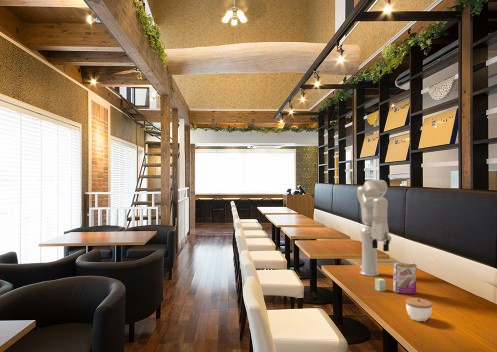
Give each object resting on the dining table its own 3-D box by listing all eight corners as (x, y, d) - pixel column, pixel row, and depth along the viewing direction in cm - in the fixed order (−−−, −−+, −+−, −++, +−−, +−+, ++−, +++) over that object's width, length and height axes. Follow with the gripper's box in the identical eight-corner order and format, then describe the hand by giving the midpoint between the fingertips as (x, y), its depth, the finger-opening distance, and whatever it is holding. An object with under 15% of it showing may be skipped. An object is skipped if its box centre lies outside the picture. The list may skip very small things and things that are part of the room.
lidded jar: (409, 312, 165) (409, 292, 165) (434, 318, 158) (434, 297, 158) (402, 319, 157) (402, 298, 157) (429, 325, 150) (428, 304, 150)
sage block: (375, 289, 201) (375, 278, 201) (380, 288, 202) (380, 278, 202) (379, 291, 197) (379, 280, 197) (385, 290, 198) (385, 280, 198)
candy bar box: (395, 293, 193) (395, 264, 193) (392, 290, 198) (392, 261, 198) (416, 294, 192) (416, 264, 192) (413, 291, 197) (413, 262, 197)
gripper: (365, 218, 208) (365, 247, 207) (384, 221, 191) (384, 252, 191) (376, 218, 210) (376, 246, 209) (396, 221, 193) (396, 252, 193)
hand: (380, 249), depth 200 cm, fingers open, 9 cm apart
